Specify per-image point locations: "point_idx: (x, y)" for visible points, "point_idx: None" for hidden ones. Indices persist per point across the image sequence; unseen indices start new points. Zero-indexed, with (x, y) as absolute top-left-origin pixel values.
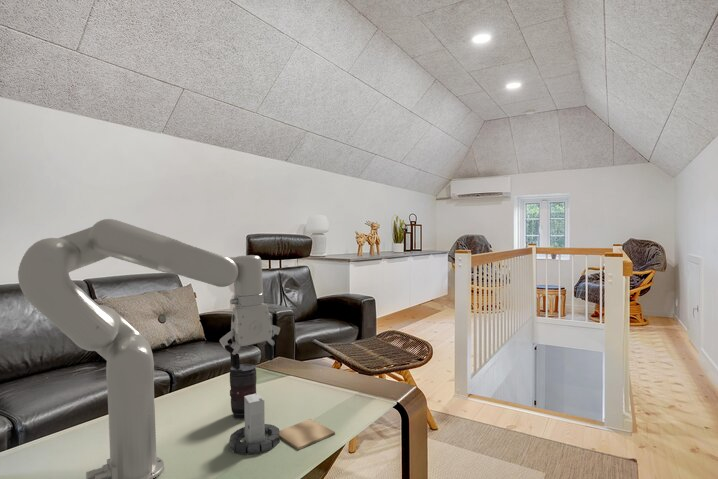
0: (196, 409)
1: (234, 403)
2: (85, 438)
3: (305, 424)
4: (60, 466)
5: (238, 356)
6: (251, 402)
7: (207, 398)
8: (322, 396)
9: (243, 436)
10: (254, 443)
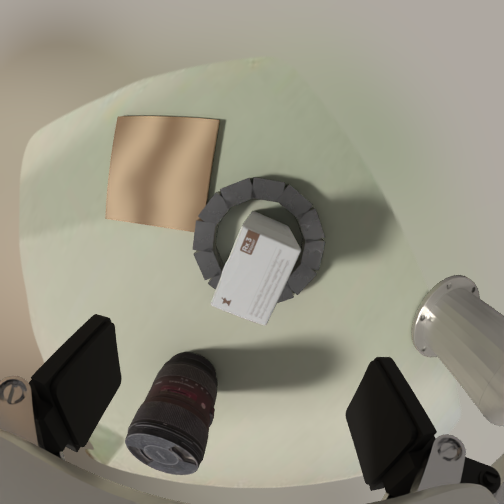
0: (244, 443)
1: (213, 394)
2: None
3: (129, 203)
4: (447, 401)
5: (415, 420)
6: (293, 247)
7: (206, 456)
8: (40, 292)
9: None
10: (290, 205)
